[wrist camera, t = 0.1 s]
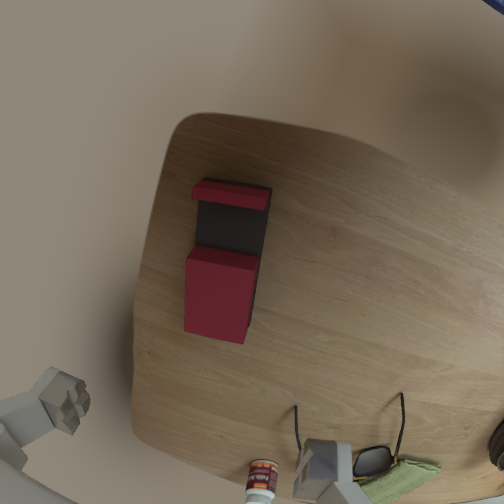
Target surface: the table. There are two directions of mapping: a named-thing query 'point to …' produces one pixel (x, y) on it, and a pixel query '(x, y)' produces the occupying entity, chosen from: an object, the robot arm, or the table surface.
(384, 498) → the washcloth
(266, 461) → the pill bottle
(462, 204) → the table surface
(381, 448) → the sunglasses
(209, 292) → the red and black block
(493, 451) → the loafer
